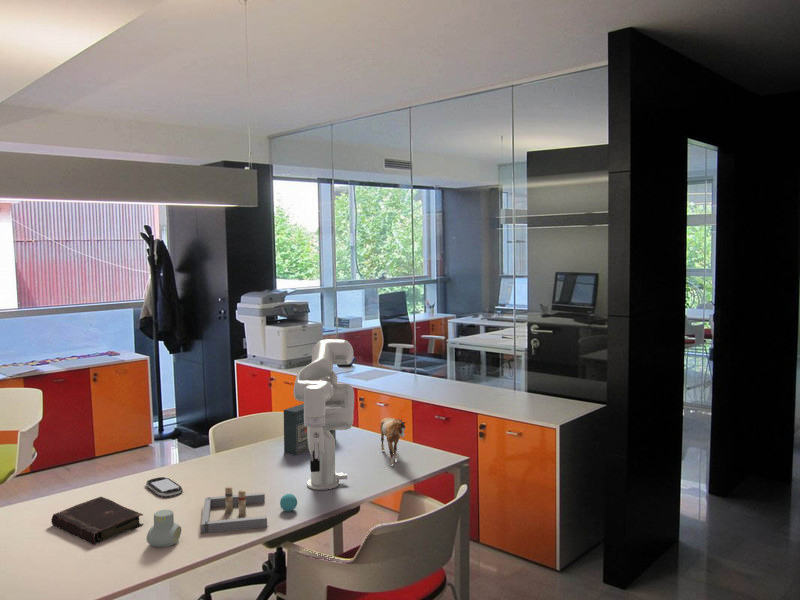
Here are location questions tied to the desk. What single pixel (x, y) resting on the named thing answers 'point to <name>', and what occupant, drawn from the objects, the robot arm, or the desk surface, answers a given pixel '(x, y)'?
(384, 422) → the horse figurine
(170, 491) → the gaming console
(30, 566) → the desk surface
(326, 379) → the robot arm
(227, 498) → the back pin
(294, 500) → the ball
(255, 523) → the pin pen
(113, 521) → the diary
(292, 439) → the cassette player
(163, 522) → the air freshener
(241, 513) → the front pin
